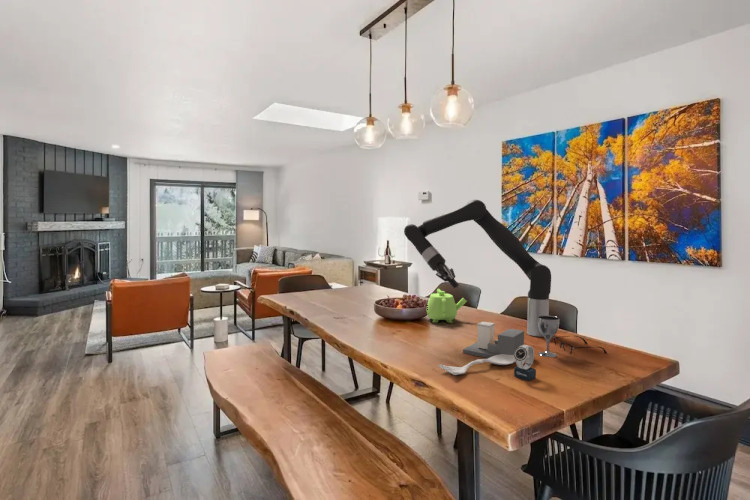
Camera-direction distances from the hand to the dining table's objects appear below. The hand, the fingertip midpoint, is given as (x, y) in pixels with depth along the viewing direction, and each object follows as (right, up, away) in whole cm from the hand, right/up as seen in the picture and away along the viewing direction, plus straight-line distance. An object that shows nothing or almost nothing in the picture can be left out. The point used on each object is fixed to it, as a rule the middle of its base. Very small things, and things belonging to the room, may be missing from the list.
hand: (456, 286), depth 191 cm
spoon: (+2, -27, -37) cm, 46 cm away
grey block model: (+11, -25, -19) cm, 34 cm away
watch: (+14, -27, -46) cm, 55 cm away
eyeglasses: (+49, -25, -14) cm, 56 cm away
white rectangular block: (+9, -23, -17) cm, 30 cm away
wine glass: (+32, -26, -21) cm, 46 cm away
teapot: (+2, -22, +40) cm, 45 cm away
